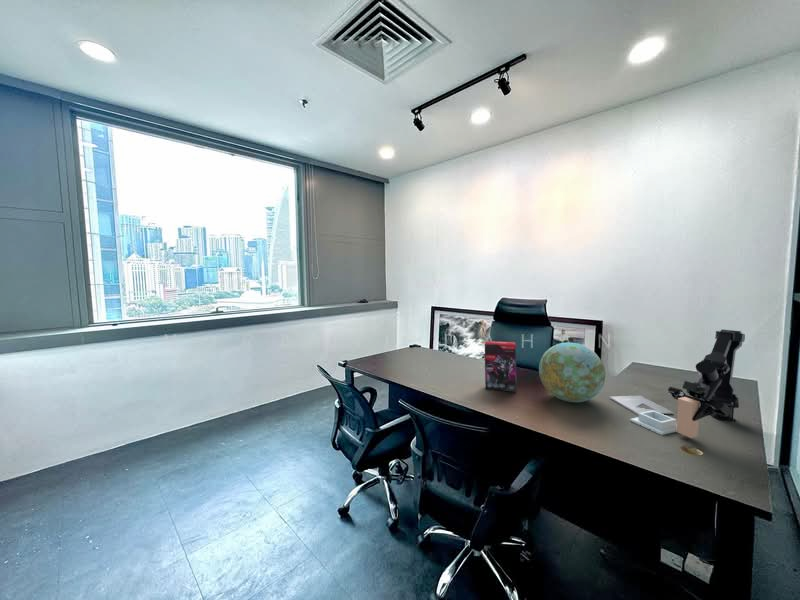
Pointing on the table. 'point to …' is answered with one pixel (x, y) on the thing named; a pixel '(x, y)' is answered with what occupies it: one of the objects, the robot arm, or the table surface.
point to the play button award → (639, 404)
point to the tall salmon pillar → (687, 417)
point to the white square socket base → (656, 422)
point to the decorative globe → (572, 372)
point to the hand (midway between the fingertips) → (685, 417)
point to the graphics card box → (500, 366)
